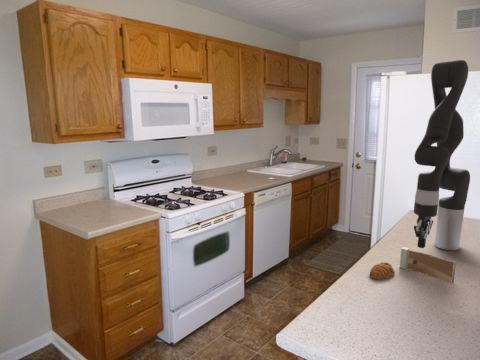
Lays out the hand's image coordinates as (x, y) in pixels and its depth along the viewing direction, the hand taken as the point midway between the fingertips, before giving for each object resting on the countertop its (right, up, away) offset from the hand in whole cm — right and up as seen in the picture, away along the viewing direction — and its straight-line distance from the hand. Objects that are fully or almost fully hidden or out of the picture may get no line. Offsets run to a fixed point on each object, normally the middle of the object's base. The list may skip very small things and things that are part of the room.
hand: (421, 247), depth 130 cm
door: (-1, -8, -7) cm, 11 cm away
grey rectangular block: (-2, -8, -6) cm, 11 cm away
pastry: (-17, -9, -6) cm, 20 cm away
